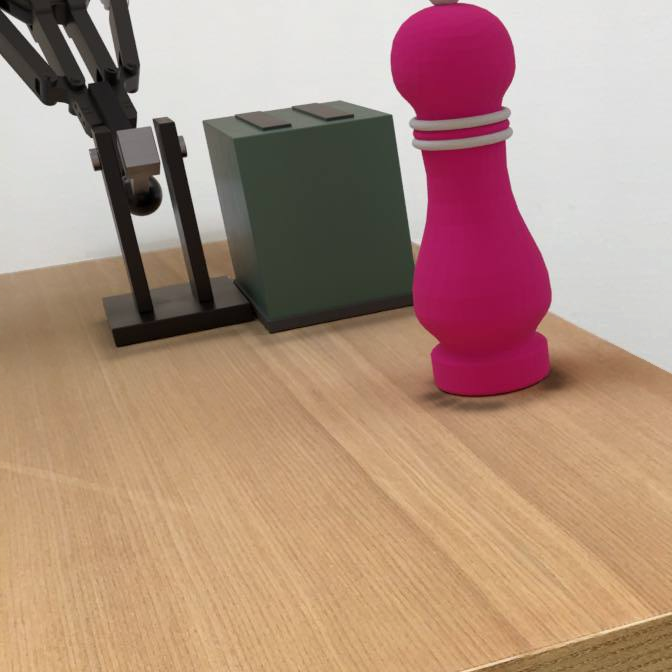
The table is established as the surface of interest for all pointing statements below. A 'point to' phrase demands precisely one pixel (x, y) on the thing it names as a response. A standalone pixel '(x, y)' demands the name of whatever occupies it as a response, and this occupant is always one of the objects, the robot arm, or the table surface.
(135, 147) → the lever
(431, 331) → the pepper mill
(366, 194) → the toaster
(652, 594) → the table surface
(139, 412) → the table surface
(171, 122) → the bracket
